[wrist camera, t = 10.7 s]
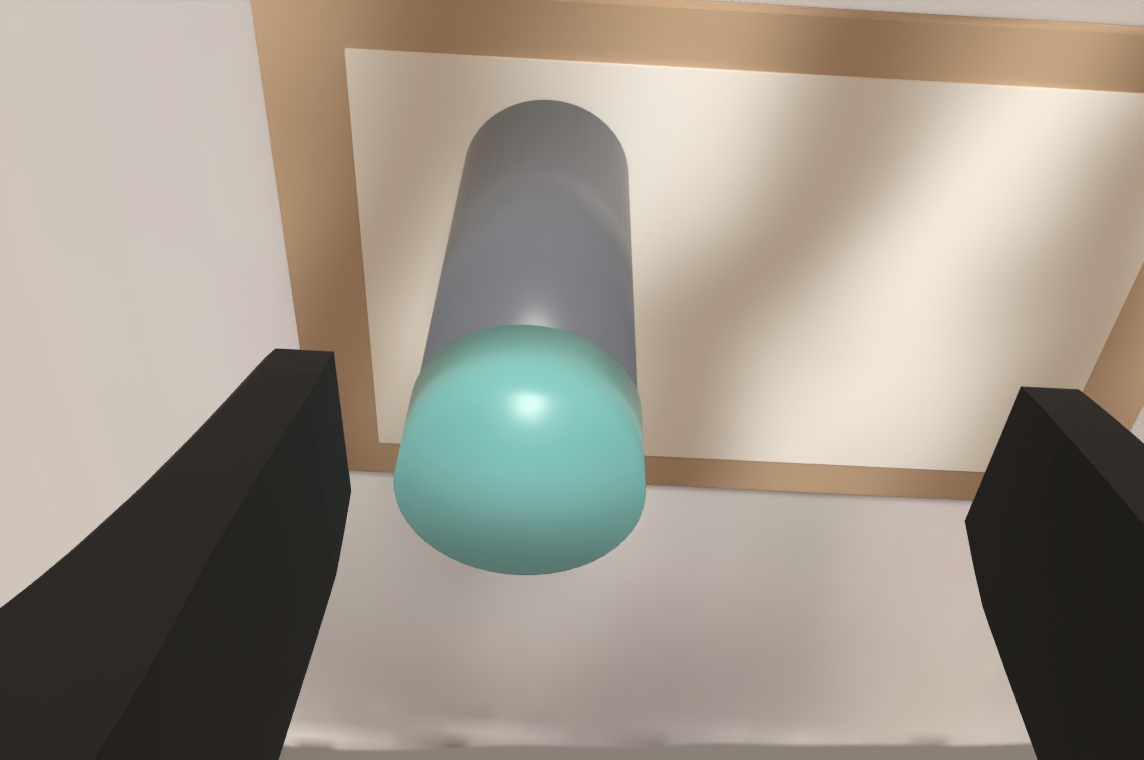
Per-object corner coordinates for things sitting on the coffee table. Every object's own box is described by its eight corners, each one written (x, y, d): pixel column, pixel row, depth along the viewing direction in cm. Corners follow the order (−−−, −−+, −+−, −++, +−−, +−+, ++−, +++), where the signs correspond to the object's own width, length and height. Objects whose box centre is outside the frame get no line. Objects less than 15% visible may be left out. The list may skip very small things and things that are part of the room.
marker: (636, 100, 18) (655, 402, 12) (626, 251, 20) (636, 579, 14) (457, 93, 18) (382, 393, 12) (464, 246, 20) (403, 570, 14)
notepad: (1320, 36, 18) (1336, 48, 17) (1084, 493, 25) (1092, 508, 24) (254, -26, 17) (246, -16, 17) (320, 456, 24) (316, 471, 24)
